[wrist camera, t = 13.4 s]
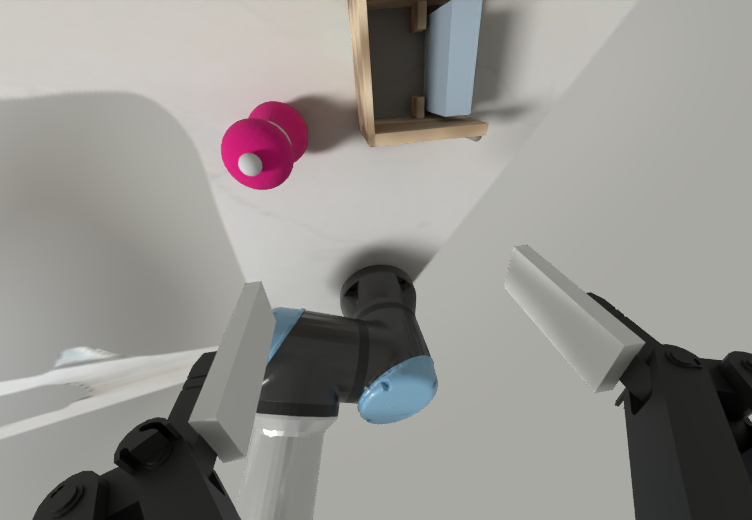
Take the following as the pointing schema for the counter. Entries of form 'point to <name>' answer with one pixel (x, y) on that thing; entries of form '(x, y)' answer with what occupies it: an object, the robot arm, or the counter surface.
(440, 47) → the door
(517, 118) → the counter surface
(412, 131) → the cabinet
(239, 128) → the pepper mill
